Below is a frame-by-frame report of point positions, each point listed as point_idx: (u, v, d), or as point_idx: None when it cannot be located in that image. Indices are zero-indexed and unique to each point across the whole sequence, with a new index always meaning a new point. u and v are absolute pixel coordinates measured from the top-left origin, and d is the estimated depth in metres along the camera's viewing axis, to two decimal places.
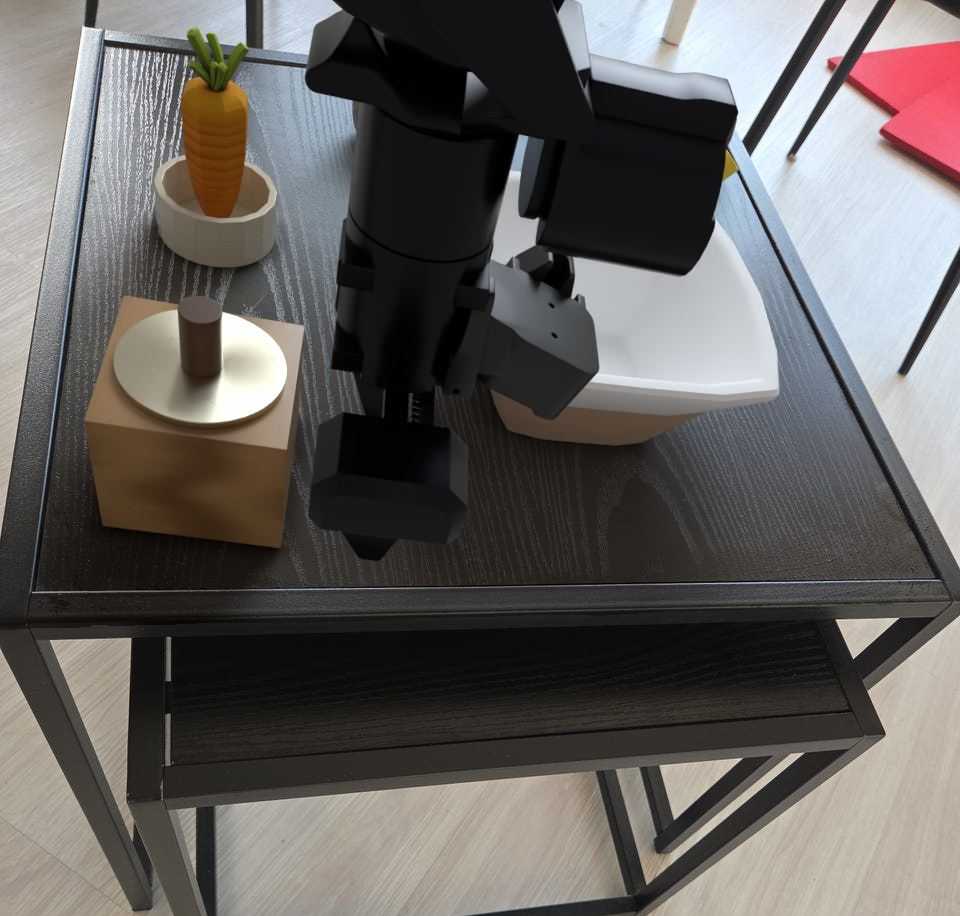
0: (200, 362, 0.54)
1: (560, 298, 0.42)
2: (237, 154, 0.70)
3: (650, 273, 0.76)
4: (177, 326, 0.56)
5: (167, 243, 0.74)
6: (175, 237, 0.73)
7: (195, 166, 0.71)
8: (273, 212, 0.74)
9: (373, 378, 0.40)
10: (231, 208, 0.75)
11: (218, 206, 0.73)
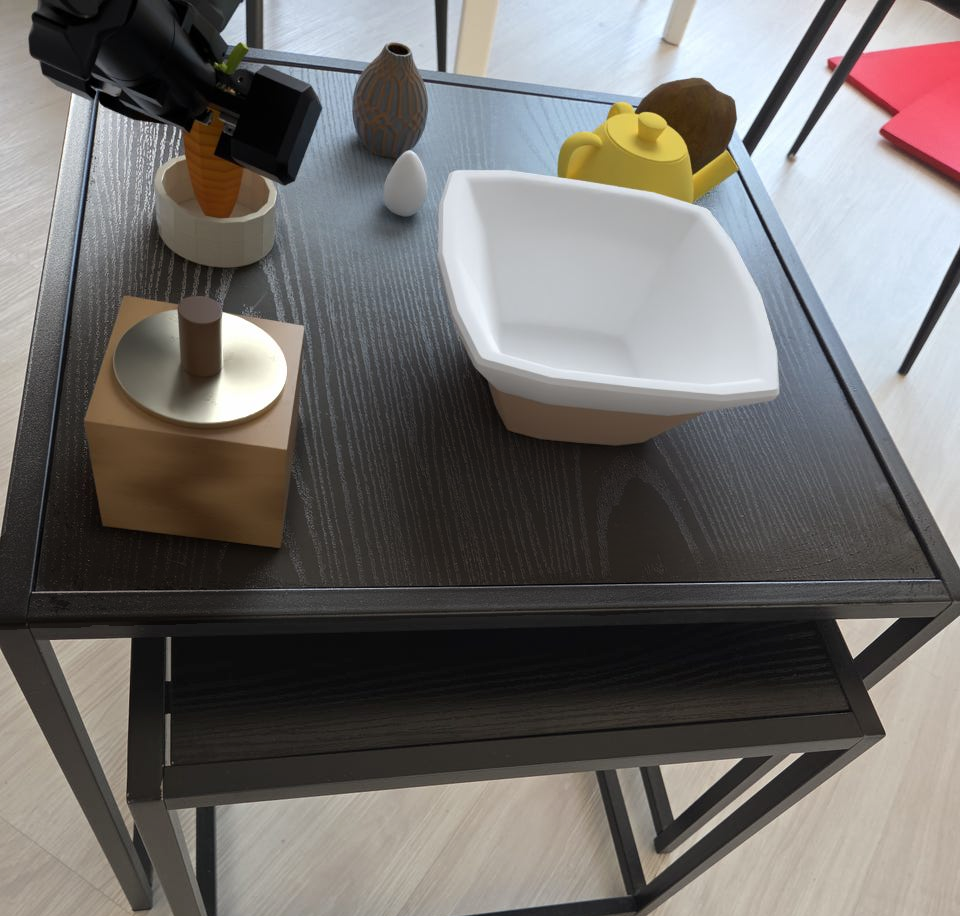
0: (200, 362, 0.54)
1: None
2: None
3: (650, 273, 0.76)
4: (177, 326, 0.56)
5: (167, 243, 0.74)
6: (175, 237, 0.73)
7: (195, 166, 0.71)
8: (273, 212, 0.74)
9: (202, 108, 0.62)
10: (231, 208, 0.75)
11: (218, 206, 0.73)
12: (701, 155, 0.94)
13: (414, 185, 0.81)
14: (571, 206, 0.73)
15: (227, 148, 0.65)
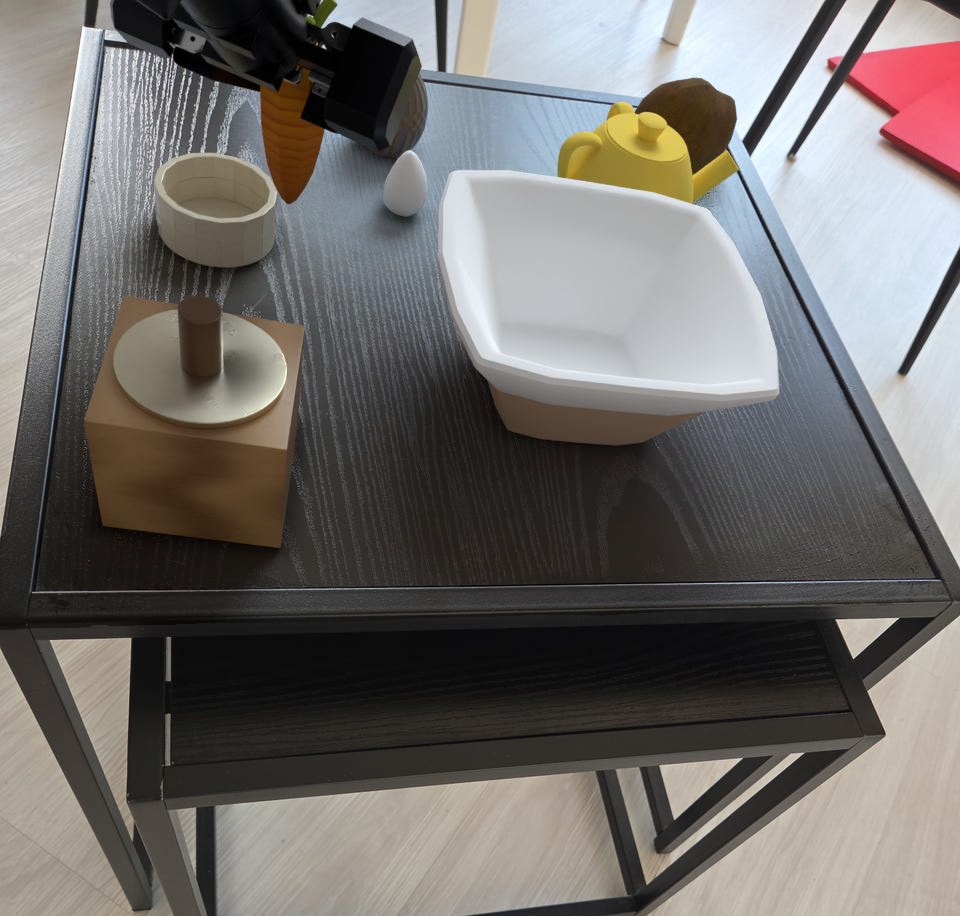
0: (200, 362, 0.54)
1: None
2: None
3: (650, 273, 0.76)
4: (177, 326, 0.56)
5: (167, 243, 0.74)
6: (175, 237, 0.73)
7: (272, 134, 0.65)
8: (273, 212, 0.74)
9: (292, 64, 0.57)
10: (306, 181, 0.69)
11: (293, 178, 0.68)
12: (701, 155, 0.94)
13: (414, 185, 0.81)
14: (571, 206, 0.73)
15: (315, 111, 0.59)
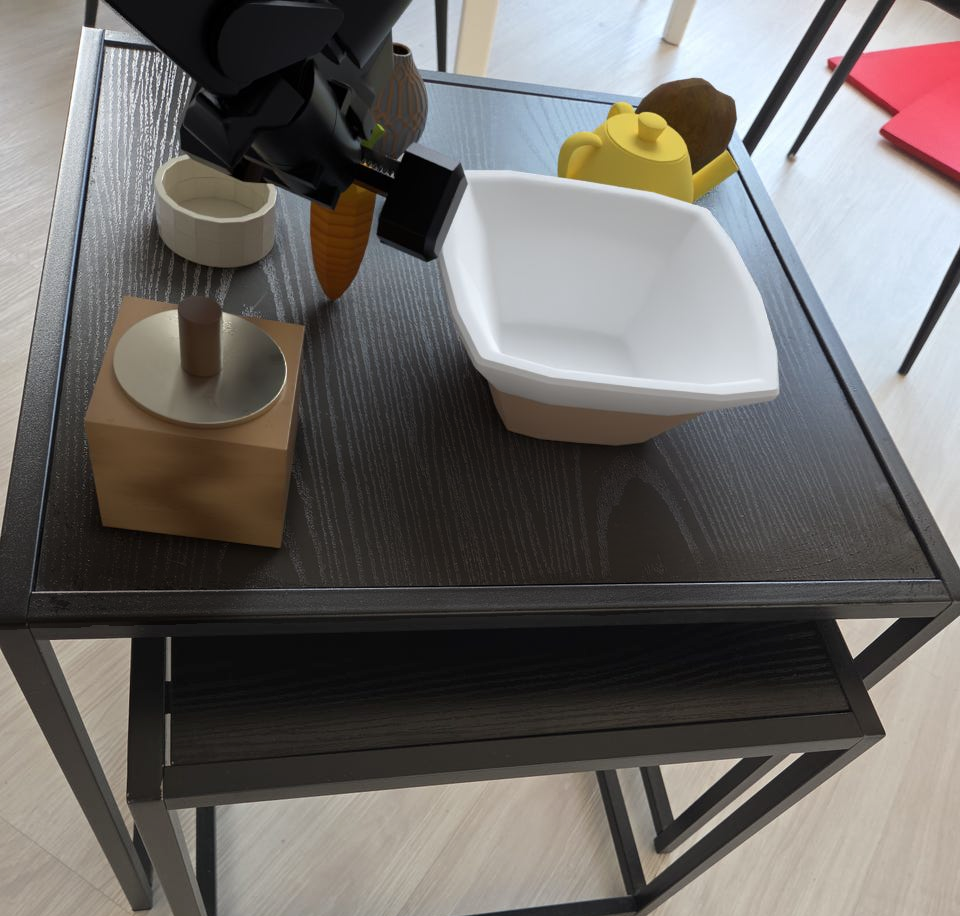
0: (200, 362, 0.54)
1: None
2: (364, 232, 0.69)
3: (650, 273, 0.76)
4: (177, 326, 0.56)
5: (167, 243, 0.74)
6: (175, 237, 0.73)
7: (320, 244, 0.69)
8: (273, 212, 0.74)
9: (347, 185, 0.61)
10: (350, 282, 0.73)
11: (338, 281, 0.72)
12: (701, 155, 0.94)
13: None
14: (571, 206, 0.73)
15: None
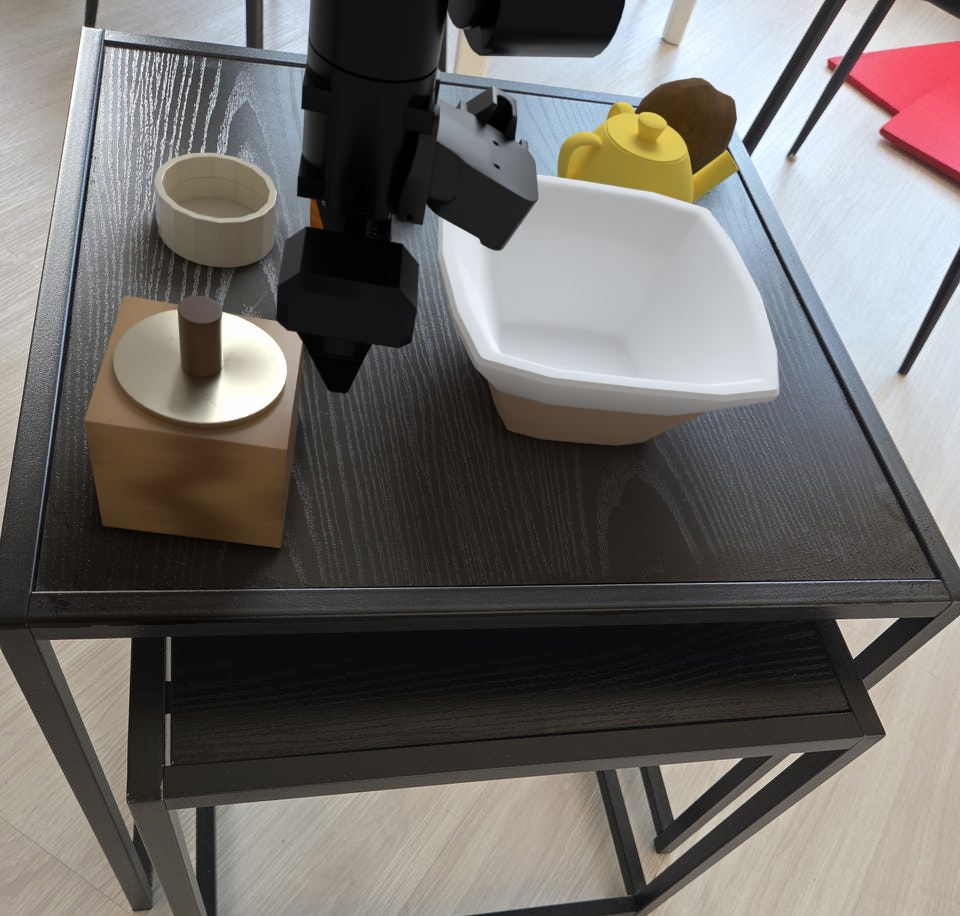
0: (200, 362, 0.54)
1: (504, 139, 0.46)
2: None
3: (650, 273, 0.76)
4: (177, 326, 0.56)
5: (167, 243, 0.74)
6: (175, 237, 0.73)
7: None
8: (273, 212, 0.74)
9: (334, 204, 0.44)
10: None
11: None
12: (701, 155, 0.94)
13: None
14: (571, 206, 0.73)
15: None
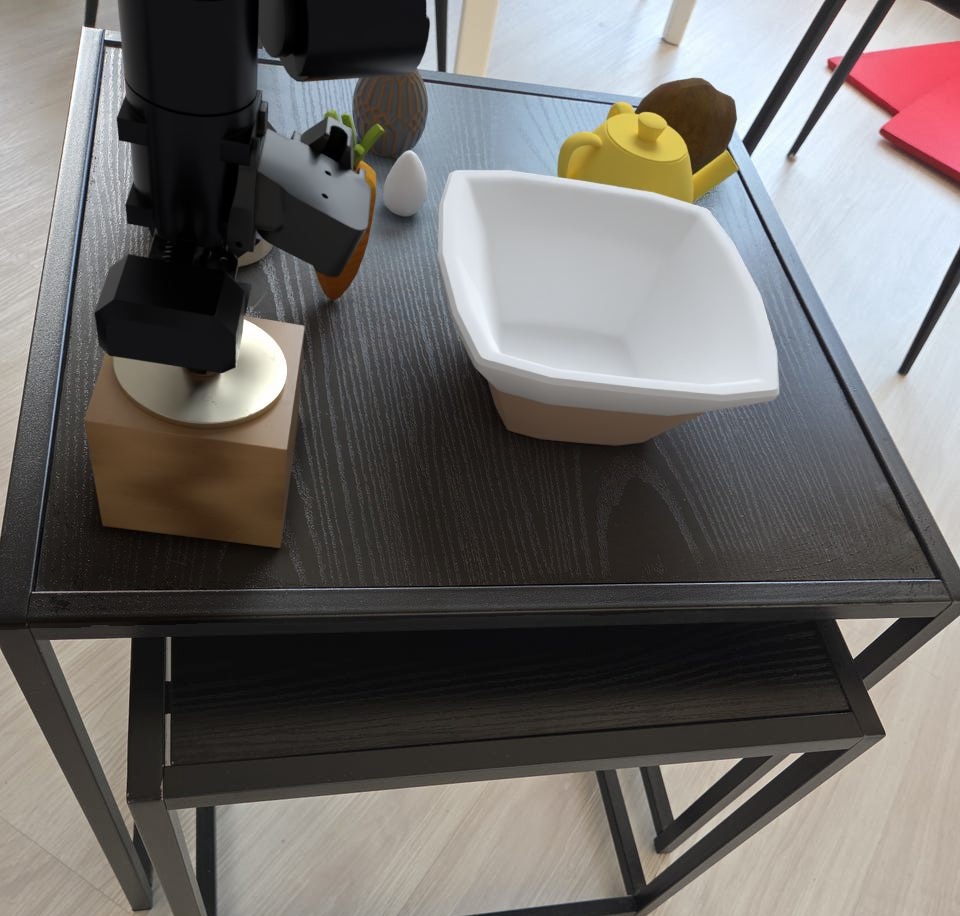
0: None
1: (338, 168, 0.47)
2: None
3: (650, 273, 0.76)
4: None
5: None
6: None
7: None
8: None
9: (164, 232, 0.45)
10: (350, 282, 0.73)
11: (338, 281, 0.72)
12: (701, 155, 0.94)
13: (414, 185, 0.81)
14: (571, 206, 0.73)
15: None
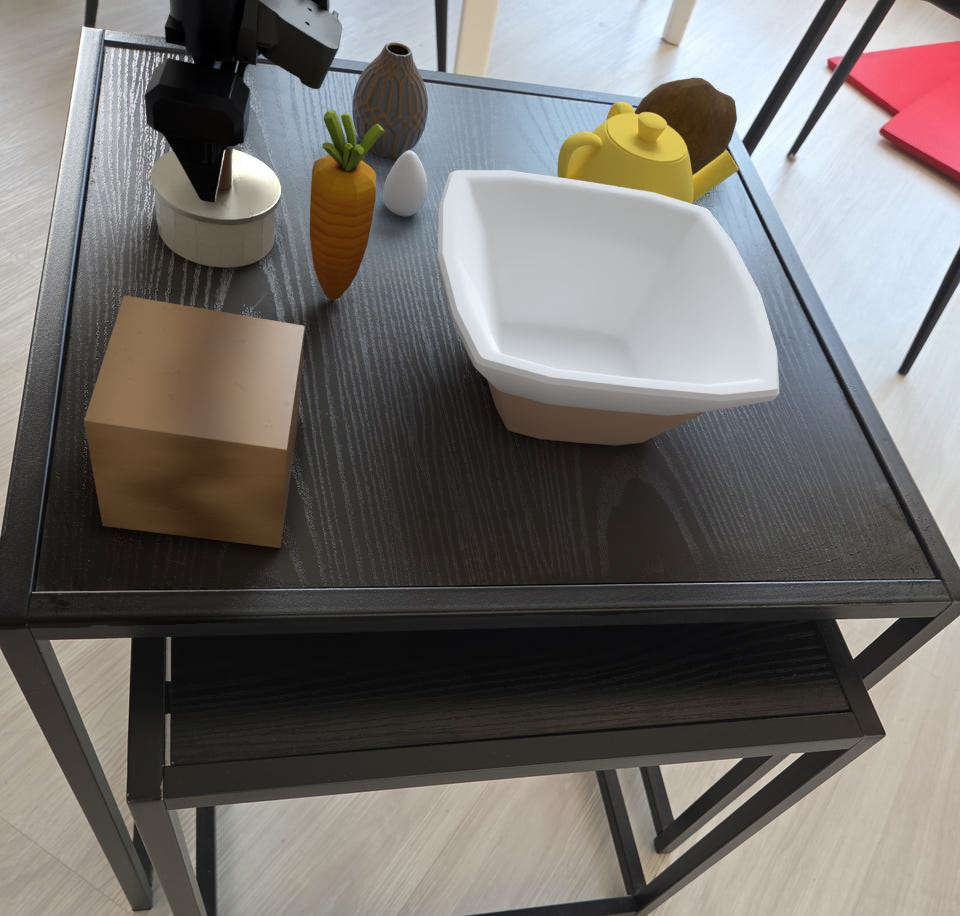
0: None
1: (318, 8, 0.65)
2: (363, 232, 0.69)
3: (650, 273, 0.76)
4: None
5: (167, 243, 0.74)
6: (175, 237, 0.73)
7: (320, 244, 0.69)
8: (273, 212, 0.74)
9: (192, 48, 0.63)
10: (350, 282, 0.73)
11: (338, 281, 0.72)
12: (701, 155, 0.94)
13: (414, 185, 0.81)
14: (571, 206, 0.73)
15: None
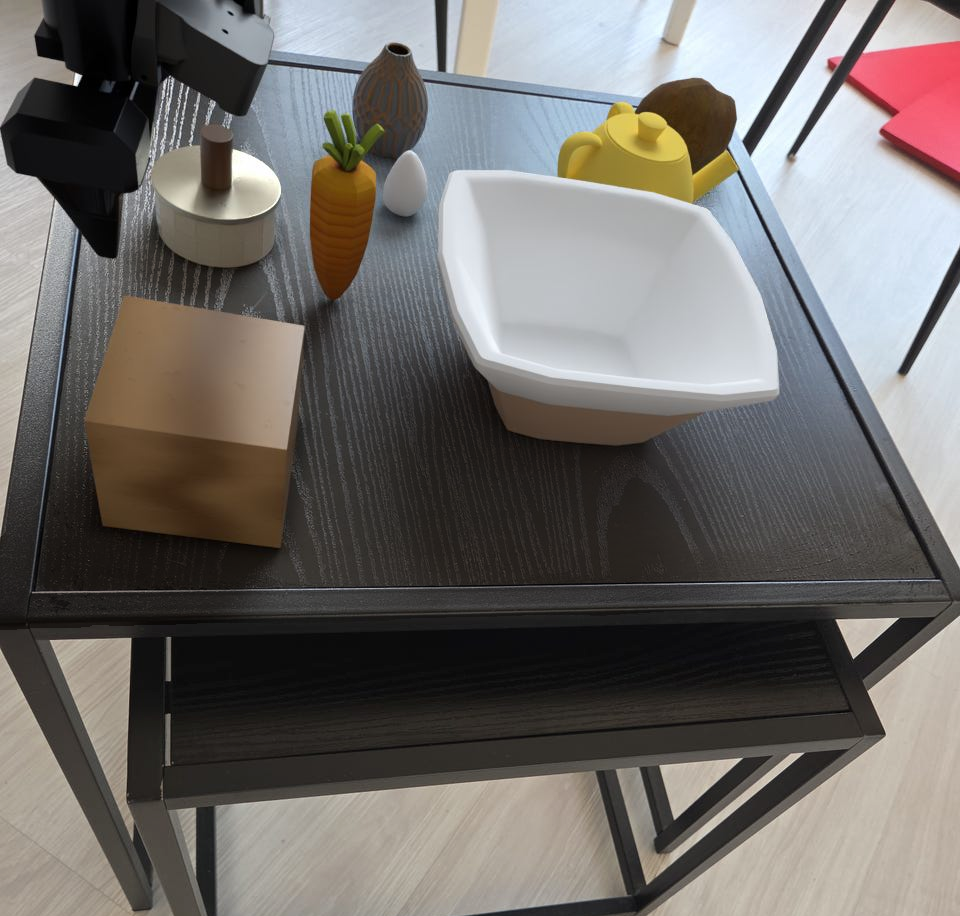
0: (216, 176, 0.72)
1: (242, 11, 0.50)
2: (363, 232, 0.69)
3: (650, 273, 0.76)
4: (198, 156, 0.75)
5: (167, 243, 0.74)
6: (175, 237, 0.73)
7: (320, 244, 0.69)
8: (273, 212, 0.74)
9: (73, 64, 0.48)
10: (350, 282, 0.73)
11: (338, 281, 0.72)
12: (701, 155, 0.94)
13: (414, 185, 0.81)
14: (571, 206, 0.73)
15: None
